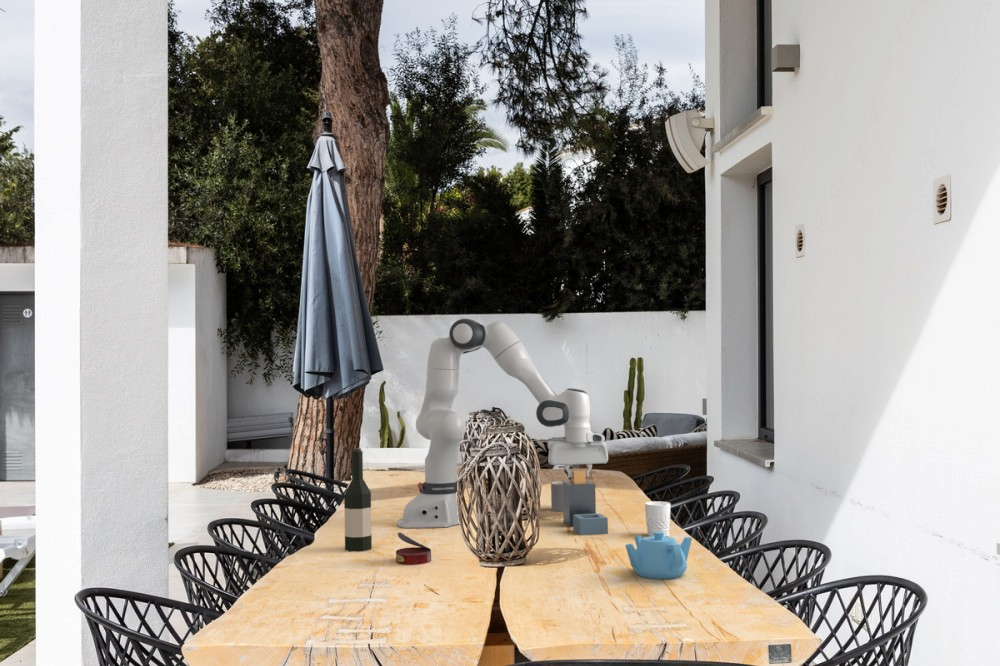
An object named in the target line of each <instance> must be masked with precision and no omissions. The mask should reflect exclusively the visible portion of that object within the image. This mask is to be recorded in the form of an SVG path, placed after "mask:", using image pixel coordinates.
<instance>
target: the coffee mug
mask: <svg viewBox="0 0 1000 666" xmlns="http://www.w3.org/2000/svg"><path fill="white" fill-rule="evenodd" d="M563 481H564V480H559V481H552V482H551V483H550V488H551V489H550V497H551V498H550V501H551V503H550V504H551V511H552V512H555V513H563Z"/></svg>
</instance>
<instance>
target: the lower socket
mask: <svg viewBox="0 0 1000 666" xmlns="http://www.w3.org/2000/svg"><path fill="white" fill-rule="evenodd" d="M608 523H609V521H608V517H607V516H605V515H603V514H601V512H600V513H597V512H596V514H576V515H573V527H572V528H573V532H575V533H577V534H578V535H580V536H587V535H588V536H591V535H608V534H609V526H608V525H609V524H608Z"/></svg>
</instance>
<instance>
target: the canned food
mask: <svg viewBox="0 0 1000 666" xmlns="http://www.w3.org/2000/svg"><path fill="white" fill-rule="evenodd" d="M397 536H398V538H399V539H400V540H401V541H403V542H405V543H407V544H409V545H413V546H414V547H413V546H412V547H405V548H404V547H403V548H400V549H397V550H396V551H395V563H396V564H398V565H404V566H414V565H415V566H416V565H425V564H429V563H430V562H431V561H432V549H431V548H430V547H428V546H425V545H423V544H421V543H419V542H417V541H416V540H414V539H412V538H411V537H409V536H406V535H405V534H404V533H402V532H397Z"/></svg>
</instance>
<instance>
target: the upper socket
mask: <svg viewBox="0 0 1000 666" xmlns="http://www.w3.org/2000/svg"><path fill="white" fill-rule="evenodd" d="M562 481H563V512H562V514H563V515H562V517H563V518H562V519H563V521H562V522H563V524H565V525H566V526H567V527H568V528H573V515H576V514H597V509H596V508H597V507H596V505H597V504H596V502H597V501H596V483H595V482H592V481H590V480H587V479H586V483H585V484H572V483H571V480H562Z"/></svg>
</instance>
